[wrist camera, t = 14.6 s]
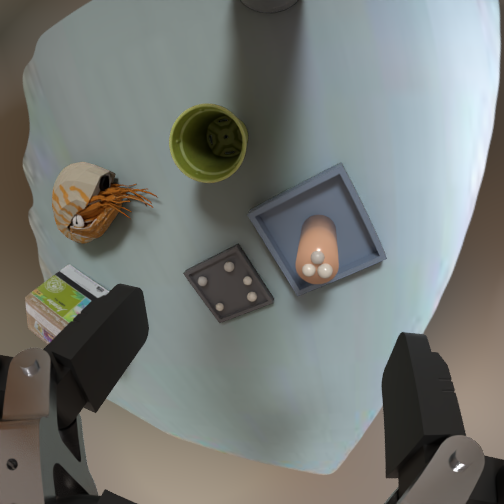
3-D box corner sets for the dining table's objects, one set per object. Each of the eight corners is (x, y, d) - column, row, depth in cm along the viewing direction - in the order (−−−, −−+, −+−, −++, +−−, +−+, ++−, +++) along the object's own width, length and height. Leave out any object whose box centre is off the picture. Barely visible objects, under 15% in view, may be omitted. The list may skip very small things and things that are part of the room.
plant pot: (252, 96, 39) (235, 94, 32) (267, 162, 43) (253, 175, 35) (189, 113, 42) (161, 116, 34) (205, 174, 46) (180, 189, 38)
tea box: (123, 296, 60) (81, 342, 47) (117, 327, 65) (81, 371, 52) (68, 261, 60) (23, 297, 47) (66, 294, 65) (27, 330, 52)
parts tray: (186, 270, 54) (181, 276, 52) (238, 243, 49) (234, 249, 47) (221, 318, 57) (218, 326, 55) (274, 298, 52) (272, 306, 50)
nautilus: (163, 157, 46) (166, 243, 54) (61, 155, 49) (71, 228, 56) (139, 171, 40) (146, 267, 47) (32, 168, 42) (47, 247, 49)
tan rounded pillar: (295, 222, 45) (287, 259, 35) (327, 209, 43) (328, 243, 34) (310, 251, 47) (305, 294, 37) (341, 239, 45) (345, 280, 35)
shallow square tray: (251, 209, 46) (247, 214, 44) (341, 162, 41) (342, 165, 38) (299, 287, 50) (297, 296, 48) (384, 251, 44) (386, 258, 42)
